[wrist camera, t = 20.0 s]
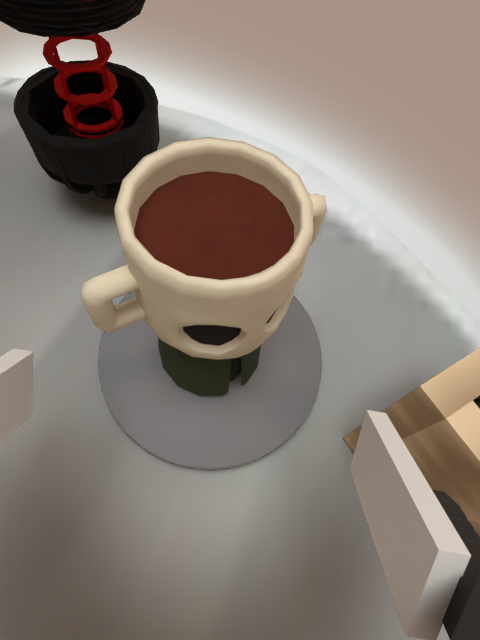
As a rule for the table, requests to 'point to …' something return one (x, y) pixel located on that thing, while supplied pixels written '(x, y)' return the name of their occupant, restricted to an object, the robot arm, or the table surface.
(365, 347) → the table surface
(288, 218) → the character mug
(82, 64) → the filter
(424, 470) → the block
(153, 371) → the coaster
